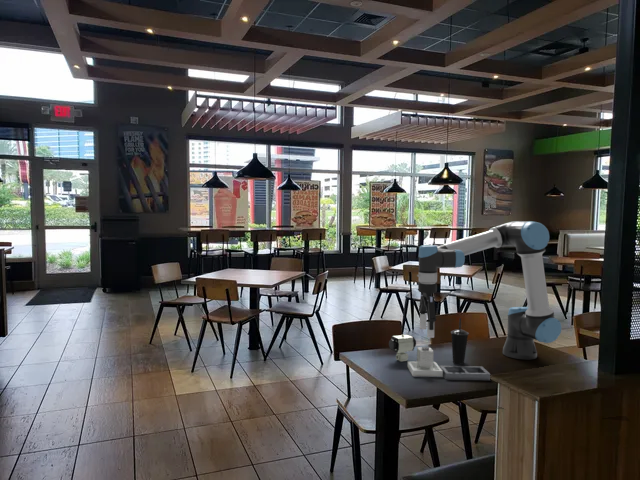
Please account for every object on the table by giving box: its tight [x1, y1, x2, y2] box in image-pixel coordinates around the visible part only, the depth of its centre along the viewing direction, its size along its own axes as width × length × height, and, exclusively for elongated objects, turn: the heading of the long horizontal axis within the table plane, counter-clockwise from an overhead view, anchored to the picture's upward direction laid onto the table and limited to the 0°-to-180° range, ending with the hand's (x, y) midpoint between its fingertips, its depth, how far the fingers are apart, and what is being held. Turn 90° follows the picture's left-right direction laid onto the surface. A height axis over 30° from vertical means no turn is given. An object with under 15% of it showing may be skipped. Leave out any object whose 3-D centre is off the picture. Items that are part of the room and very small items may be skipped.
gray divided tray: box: [439, 365, 492, 381], centre depth 200 cm, size 18×10×2 cm, turn 91°
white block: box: [416, 346, 434, 370], centre depth 204 cm, size 6×6×10 cm
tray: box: [407, 360, 444, 378], centre depth 204 cm, size 12×12×2 cm
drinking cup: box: [450, 317, 470, 365], centre depth 218 cm, size 8×8×20 cm
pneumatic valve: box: [388, 333, 417, 363], centre depth 219 cm, size 6×12×12 cm, turn 113°
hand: (426, 333), depth 203 cm, fingers open, 13 cm apart
